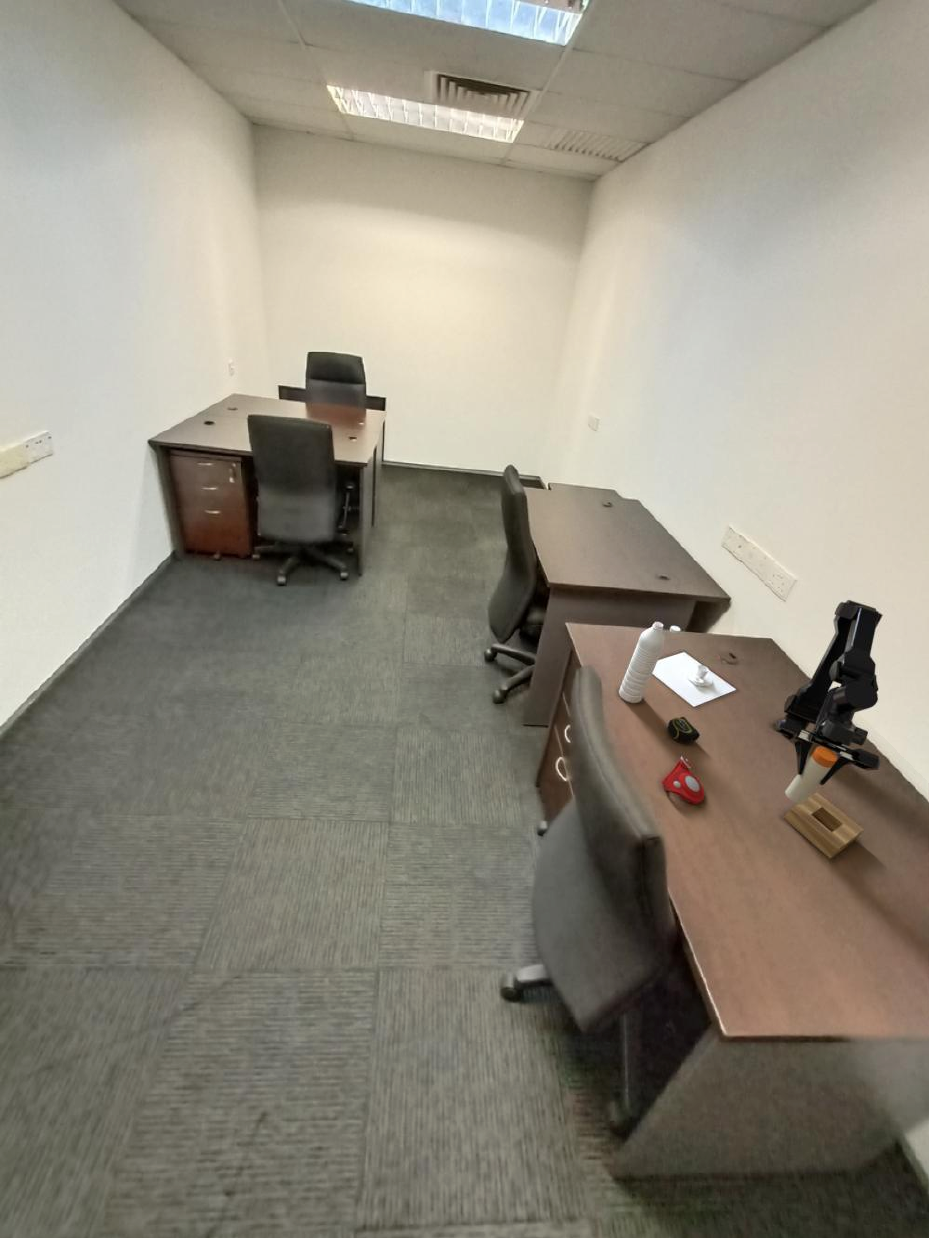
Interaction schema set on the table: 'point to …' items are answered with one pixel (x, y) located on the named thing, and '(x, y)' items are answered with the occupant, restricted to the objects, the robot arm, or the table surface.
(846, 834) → the holder
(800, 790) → the glue stick
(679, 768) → the tracker holder
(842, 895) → the table surface
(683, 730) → the tape measure
